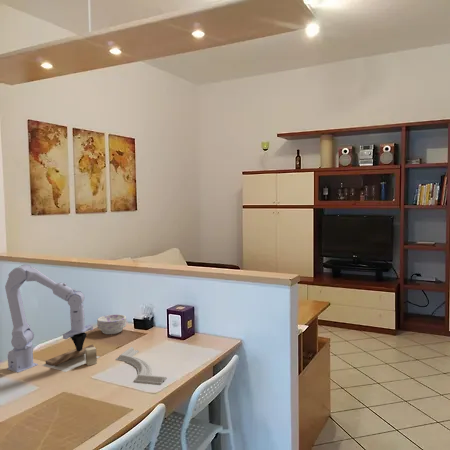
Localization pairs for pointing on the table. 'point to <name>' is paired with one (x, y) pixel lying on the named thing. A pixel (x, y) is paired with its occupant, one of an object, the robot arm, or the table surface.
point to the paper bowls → (111, 323)
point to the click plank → (71, 356)
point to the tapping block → (91, 356)
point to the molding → (140, 368)
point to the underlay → (70, 364)
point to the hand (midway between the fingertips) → (79, 350)
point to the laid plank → (57, 358)
